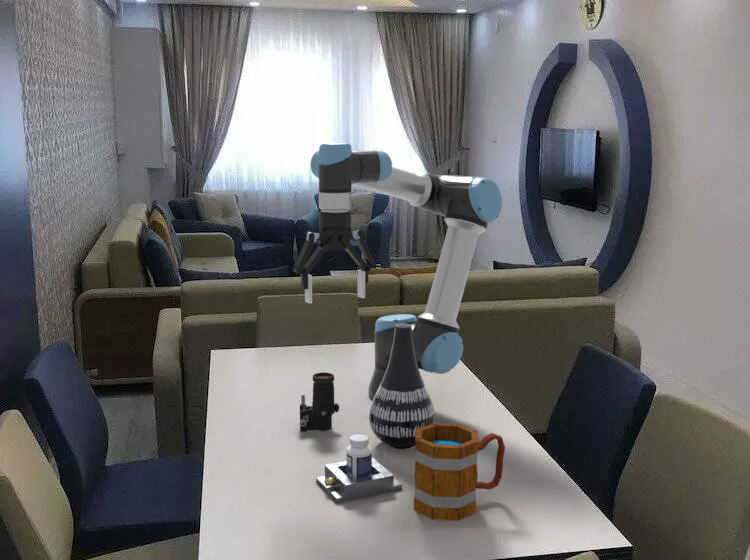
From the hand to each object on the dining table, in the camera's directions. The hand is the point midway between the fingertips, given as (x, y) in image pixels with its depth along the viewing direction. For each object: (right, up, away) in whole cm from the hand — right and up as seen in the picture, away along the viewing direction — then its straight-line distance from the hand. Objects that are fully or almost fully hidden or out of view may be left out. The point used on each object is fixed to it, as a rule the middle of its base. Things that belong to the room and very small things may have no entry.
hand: (335, 300), depth 189 cm
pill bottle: (+6, -38, -19) cm, 43 cm away
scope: (-5, -33, +13) cm, 36 cm away
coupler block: (+6, -39, -19) cm, 44 cm away
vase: (+16, -35, +4) cm, 39 cm away
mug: (+26, -41, -26) cm, 55 cm away
